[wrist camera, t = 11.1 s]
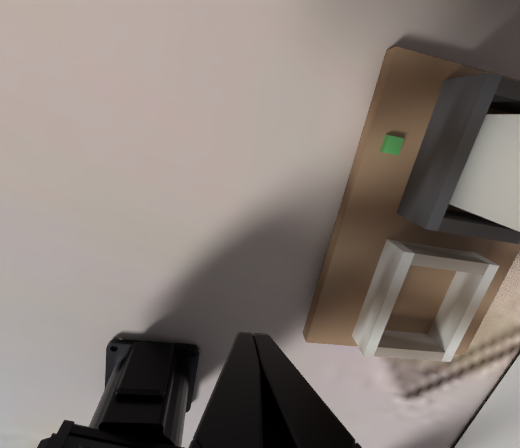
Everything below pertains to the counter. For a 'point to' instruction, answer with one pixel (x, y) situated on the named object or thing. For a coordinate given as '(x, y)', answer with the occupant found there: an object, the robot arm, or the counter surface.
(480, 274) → the brown board with frames
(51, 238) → the counter surface
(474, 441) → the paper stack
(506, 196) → the plug
